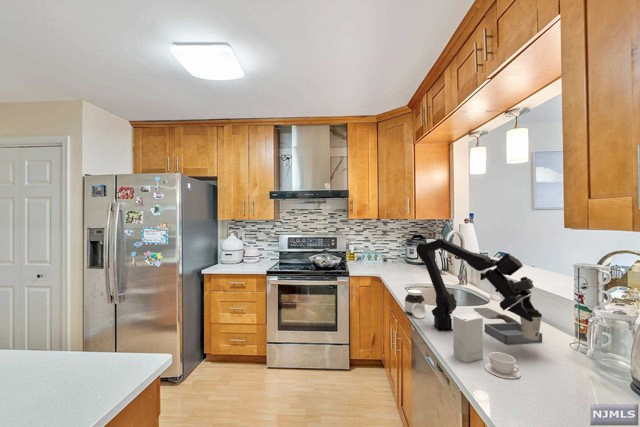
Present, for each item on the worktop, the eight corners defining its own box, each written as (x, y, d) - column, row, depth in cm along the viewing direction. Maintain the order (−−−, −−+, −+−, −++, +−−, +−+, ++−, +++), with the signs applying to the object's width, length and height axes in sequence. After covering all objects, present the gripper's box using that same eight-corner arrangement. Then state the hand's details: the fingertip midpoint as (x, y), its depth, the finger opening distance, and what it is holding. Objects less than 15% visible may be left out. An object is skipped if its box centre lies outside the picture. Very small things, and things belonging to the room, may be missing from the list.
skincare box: (470, 352, 109) (469, 311, 110) (484, 359, 104) (483, 317, 104) (452, 355, 107) (452, 314, 107) (465, 363, 101) (465, 320, 101)
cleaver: (527, 329, 132) (527, 324, 132) (506, 329, 132) (506, 324, 132) (486, 309, 162) (486, 305, 162) (469, 309, 161) (469, 305, 161)
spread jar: (414, 310, 159) (414, 288, 159) (433, 315, 150) (433, 292, 150) (399, 314, 152) (399, 291, 152) (418, 320, 143) (418, 296, 143)
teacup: (478, 368, 98) (478, 354, 98) (496, 361, 103) (496, 348, 103) (509, 383, 89) (509, 367, 89) (527, 375, 94) (527, 360, 94)
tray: (505, 344, 116) (505, 335, 116) (484, 331, 129) (484, 323, 129) (542, 342, 118) (542, 333, 118) (517, 330, 130) (517, 322, 130)
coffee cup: (545, 342, 103) (545, 314, 103) (522, 339, 106) (522, 311, 106) (538, 335, 110) (538, 308, 110) (516, 332, 112) (516, 306, 112)
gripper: (509, 273, 105) (548, 312, 96) (525, 267, 117) (560, 301, 109) (485, 291, 110) (520, 329, 102) (502, 283, 123) (534, 317, 115)
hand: (534, 318), depth 107 cm, fingers closed on coffee cup, 7 cm apart
